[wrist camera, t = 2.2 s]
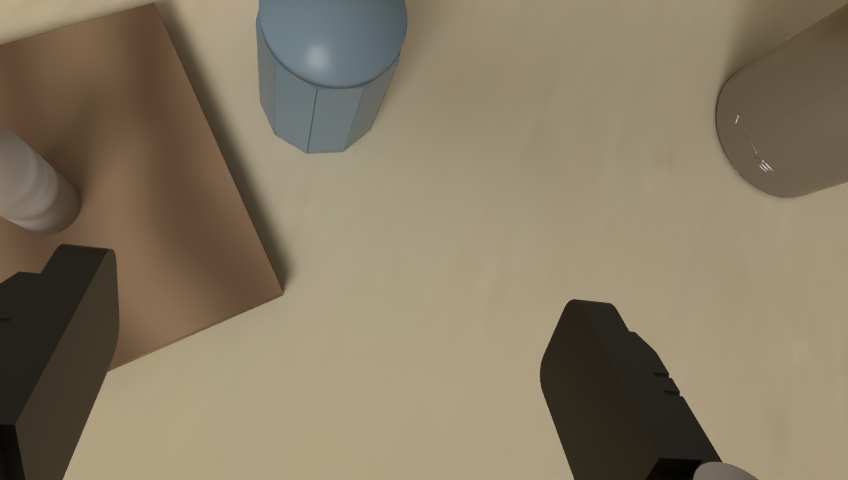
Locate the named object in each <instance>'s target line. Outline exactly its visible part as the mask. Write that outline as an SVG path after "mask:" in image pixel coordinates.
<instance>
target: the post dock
mask: <svg viewBox="0 0 848 480" xmlns="http://www.w3.org/2000/svg"><path fill="white" fill-rule="evenodd" d="M61 244H71V245H80V246H90V247H99V248H108V249H113V250H114V252H115V254H116V262H117V281H118V300H119V322H120V323H119V335H118V341H117V346H116V350H115V353H114V356H113V359H112V362H111V364H110V366H109V369H108V371H110V370H112V369H115V368H117V367H119V366H122V365H124V364H126V363H129V362H131V361H133V360H135V359H138V358H140V357H142V356H145V355H147V354H149V353H152V352H154V351H156V350H158V349H161V348H163V347H165V346H168V345H170V344H172V343H174V342H177V341H179V340H181V339H184V338H186V337H188V336H191V335H193V334H195V333H197V332H200V331H202V330H204V329H207V328H209V327H211V326H213V325H216V324H218V323H220V322H223V321H225V320H227V319H230V318H232V317H234V316H236V315H239V314H241V313H243V312H246V311H248V310H250V309H253V308H255V307H257V306H259V305H262V304H264V303H266V302H269V301H271V300H273V299H275V298H278V297H280V296H282V295H283V291H282V289H281V287H280V284H279V282H278V280H277V278H276V275H275V273H274V271H273V269H272V266H271V264H270V262H269V260H268V257H267V255H266V253H265V251H264V248H263V246H262V244H261V242H260V239H259V237H258V235H257V233H256V230H255V228H254V226H253V224H252V221H251V219H250V217H249V215H248V212H247V210H246V208H245V205H244V203H243V201H242V199H241V196H240V194H239V192H238V190H237V187H236V185H235V183H234V181H233V178H232V176H231V174H230V172H229V169H228V167H227V165H226V163H225V160H224V158H223V156H222V154H221V151H220V149H219V147H218V145H217V142H216V140H215V138H214V136H213V133H212V131H211V129H210V127H209V124H208V122H207V120H206V118H205V115H204V113H203V111H202V109H201V106H200V104H199V102H198V100H197V97H196V95H195V93H194V91H193V88H192V86H191V84H190V82H189V79H188V77H187V75H186V73H185V70H184V68H183V66H182V64H181V61H180V59H179V57H178V54H177V52H176V50H175V48H174V45H173V43H172V41H171V39H170V36H169V34H168V32H167V30H166V27H165V25H164V23H163V21H162V18H161V16H160V14H159V12H158V9H157V7H156V5H155V3H151V4H148V5H144V6H141V7H137V8H133V9H130V10H126V11H122V12H119V13H115V14H111V15H108V16H104V17H101V18H97V19H93V20H90V21H86V22H82V23H79V24H75V25H71V26H68V27H64V28H61V29H57V30H53V31H50V32H46V33H42V34H39V35H35V36H31V37H28V38H24V39H21V40H17V41H13V42H10V43H6V44H2V45H0V283H2V282H3V281H5V280H6V279H8V278H9V277H11V276H13V275H14V274H16V273H17V272H19V271H20V272H30V273H41V272H42V270H43V268H44V267H45V265H46V264H47V262H48V261H49V259H50V258H51V256H52V255H53V253H54V252H55V250H56V249H57V247H58V246H59V245H61ZM108 371H107V372H108Z"/></svg>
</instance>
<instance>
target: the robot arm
mask: <svg viewBox="0 0 848 480" xmlns="http://www.w3.org/2000/svg"><path fill="white" fill-rule="evenodd" d="M716 112H717V129H718V133H719V138H720V141H721V144H722V146H723V149H724V151H725V154H726V155H727V157H728V158H729V160H730V162H731V163H732V165H733V166H734V168H735V169H736V170H737V171H738V172H739V173H740V174H741V176H742V177H743V178H744V179H746V180H747V181H748V182H749V183H751V184H752V185H753V186H754V187H756V188H758V189H760V190H762V191H764V192H766V193H768V194H771V195H775V196H778V197H790V198H794V197H799V196H803V195H807V194H810V193H813V192H817V191H820V190H823V189H826V188H830V187H833V186H836V185H839V184H842V183H846V182H848V4H846V5H844V6H843V7H841V8H839V9H838V10H836V11H835V12H833V13H831V14H830V15H828V16H826V17H825V18H823V19H822V20H820V21H818V22H817V23H815V24H814V25H812V26H810V27H809V28H807V29H805V30H804V31H802V32H801V33H799V34H797V35H796V36H794V37H793V38H791V39H789V40H787V41H786V42H784V43H782V44H781V45H779V46H778V47H776V48H774V49H773V50H771V51H770V52H768V53H766V54H765V55H763V56H762V57H760V58H758V59H757V60H755V61H753V62H752V63H750V64H749V65H747V66H745V67H744V68H742V69H741V70H739V71H738V72H737V73H735V74H734V75H733V76H731V78H730V79H729V80H728V82H727V83H726V84H725V85H724V87H723V89H722V92H721V94H720V96H719V100H718V105H717V111H716ZM119 323H120V322H119V300H118V281H117V262H116V254H115V252H114V250H113V249H108V248H99V247H90V246H80V245H71V244H61V245H59V246H58V247H57V249H56V250H55V252H54V253H53V255H52V256H51V258H50V259H49V261H48V262H47V264H46V265H45V267H44V268H43V270H42V272H41V273H30V272H20V271H19V272H17V273H16V274H14V275H13V276H11V277H9V278H8V279H6V280H5V281H3V282H2V283H0V480H63V477H64V475H65V472H66V470H67V468H68V465H69V463H70V460H71V458H72V455H73V453H74V451H75V448H76V446H77V443H78V441H79V439H80V436H81V434H82V431H83V429H84V427H85V424H86V422H87V419H88V417H89V415H90V412H91V410H92V407H93V405H94V402H95V400H96V398H97V395H98V393H99V390H100V388H101V386H102V383H103V381H104V378H105V376H106V374H107V371H108V369H109V366H110V364H111V362H112V359H113V356H114V353H115V350H116V346H117V341H118V335H119ZM540 382H541V388H542V391H543V394H544V397H545V400H546V402H547V405H548V408H549V411H550V413H551V416H552V419H553V422H554V424H555V427H556V430H557V433H558V435H559V438H560V441H561V444H562V447H563V449H564V452H565V455H566V458H567V460H568V463H569V466H570V469H571V471H572V474H573V477H574V480H758V479H757V478H755V477H754V476H752V475H751V474H749V473H748V472H746V471H744V470H742V469H740V468H738V467H736V466H733V465H730V464H727V463H723V462H722V461H721V459H720V457H719V456H718V454H717V452H716V451H715V449H714V447H713V446H712V444H711V442H710V441H709V439H708V437H707V436H706V434H705V432H704V431H703V429H702V427H701V426H700V424H699V423H698V421H697V419H696V418H695V416H694V414H693V413H692V411H691V409H690V408H689V406H688V404H687V403H686V401H685V399H684V398H683V396H680V391H679V389H678V388H677V386H676V384H675V383H674V381H673V379H672V378H669V373H668V371H667V369H666V368H665V366H664V365H663V363H662V361H661V360H660V358H659V356H658V355H657V353H656V352H655V351H654V350H653V349H652V348H651V347H650V346H649V345H648V344H647V343H646V342H645V341H644V340H643V339H642V338H641V337H640V336H638V335H637V334H636V333H635V332H630V331H629V330H628V328H627V327H626V325H625V323H624V321H623V320H622V318H621V316H620V314H619V313H618V311H617V309H616V308H615V306H613V305H612V304H611V303H604V302H595V301H585V300H576V299H573V300H571V301H569V302H568V303H567V305H566V306H565V308H564V310H563V312H562V315H561V317H560V319H559V322H558V324H557V326H556V328H555V331H554V333H553V335H552V337H551V340H550V342H549V344H548V347H547V349H546V351H545V353H544V356H543V358H542V362H541V368H540Z"/></svg>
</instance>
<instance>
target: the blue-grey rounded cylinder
mask: <svg viewBox="0 0 848 480" xmlns="http://www.w3.org/2000/svg"><path fill="white" fill-rule="evenodd" d="M406 30H407V11H406V6H405V2H404V0H259V11H258V15H257V19H256V33H257V52H258V70H259V88H260V103H261V105H262V107H263V109H264V112H265V114H266V116H267V118H268V120H269V123H270V125H271V127H272V129H273V131H274V134H275V135H277V136H278V137H280V138H282V139H283V140H285V141H287V142H288V143H290V144H292V145H294V146H295V147H297V148H299V149H300V150H302V151H304V152H305V153H327V152H343V151H345V150H346V149H347V148H349V147H350V146H351V145H352V144H353V143H355V142H356V141H357V140H358V139H360V138H361V137H362V136H363V135H365V134H366V133H367V132H368V131H369V130H370V128H371V126H372V123H373V121H374V119H375V116H376V114H377V111H378V109H379V107H380V104H381V102H382V99H383V97H384V95H385V92H386V90H387V87H388V85H389V83H390V80H391V78H392V75H393V73H394V71H395V68H396V66H397V63H398V60H399V55H400V51H401V46H402V44H403V41H404V38H405V35H406Z"/></svg>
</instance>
